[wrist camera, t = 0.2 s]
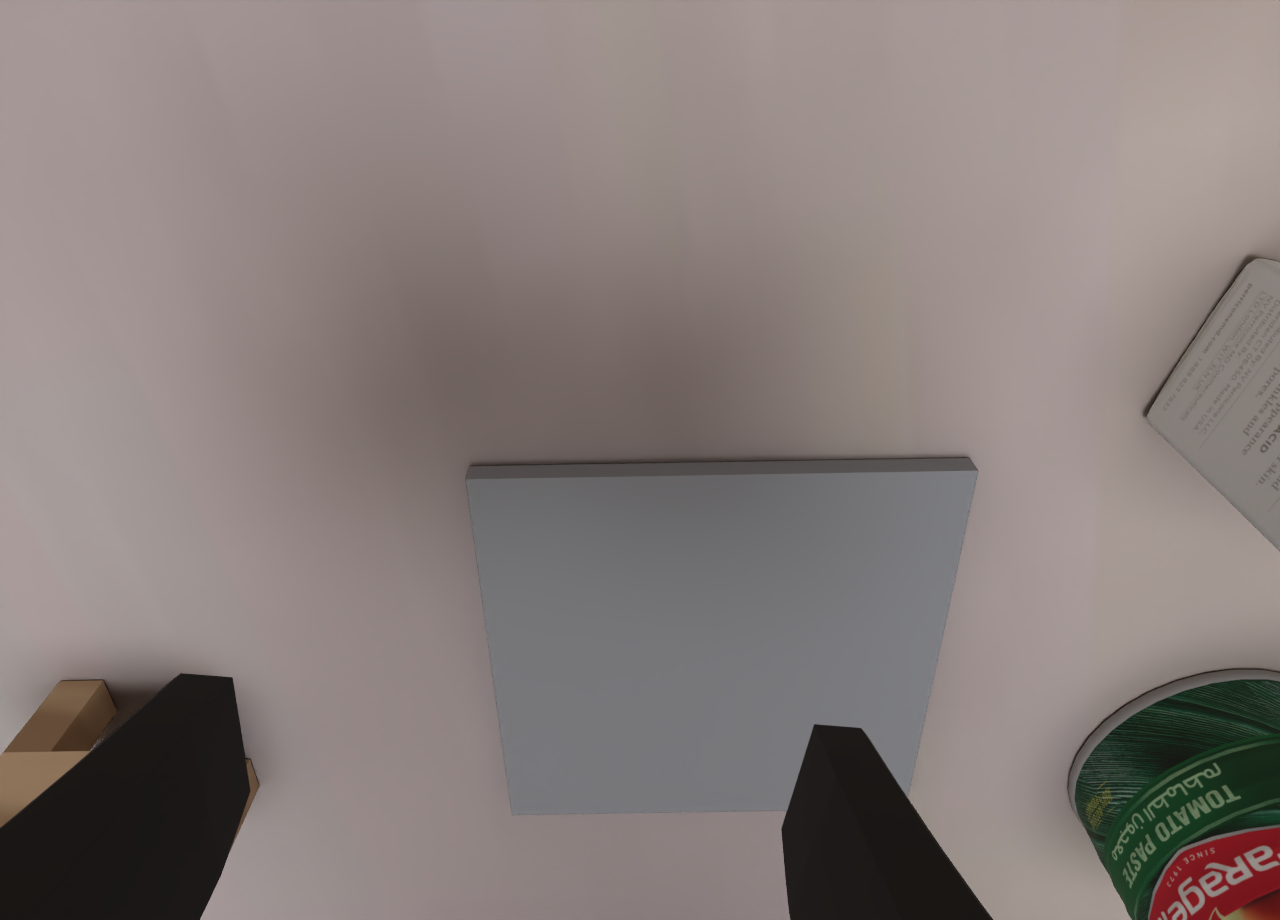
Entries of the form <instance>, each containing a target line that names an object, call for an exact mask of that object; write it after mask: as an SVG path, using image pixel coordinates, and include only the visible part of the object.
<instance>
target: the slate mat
mask: <svg viewBox="0 0 1280 920" xmlns="http://www.w3.org/2000/svg"><path fill="white" fill-rule="evenodd" d="M977 475H978V469H977V468H976V467H975V465H974V464H973V462H972V461H971V459H970V458H930V459H871V460H812V461H753V462H694V463H635V464H575V465H516V466H470V467H469V470H468V473H467V476H466V487H467V494H468V501H469V508H470V516H471V523H472V530H473V537H474V545H475V552H476V559H477V566H478V573H479V581H480V588H481V595H482V602H483V610H484V617H485V624H486V631H487V639H488V646H489V653H490V660H491V668H492V675H493V682H494V689H495V696H496V704H497V711H498V718H499V725H500V733H501V740H502V747H503V754H504V762H505V769H506V776H507V783H508V790H509V798H510V805H511V812H512V815H548V814H608V813H668V812H728V811H787V810H788V807H789V803H790V800H791V797H792V794H793V790H794V787H795V784H796V781H797V778H798V774H799V771H800V768H801V765H802V762H803V758H804V755H805V752H806V749H807V746H808V742H809V739H810V736H811V733H812V730H813V726H814V724H818V725H831V726H843V727H856V728H862V730H863V731H864V732H865V733H866V735H867V736H868V737H869V739H870V741H871V742H872V744H873V745H874V747H875V748H876V750H877V751H878V753H879V755H880V756H881V758H882V759H883V761H884V762H885V764H886V765H887V767H888V769H889V770H890V772H891V773H892V775H893V776H894V778H895V779H896V781H897V782H898V784H899V785H900V787H901V789H902V790H903V792H904V793H905V795H906V796H907V798H908V795H909V790H910V785H911V781H912V776H913V771H914V767H915V762H916V758H917V753H918V748H919V744H920V739H921V734H922V730H923V725H924V720H925V716H926V711H927V706H928V702H929V697H930V693H931V688H932V683H933V679H934V674H935V669H936V665H937V660H938V655H939V651H940V646H941V642H942V637H943V632H944V628H945V623H946V618H947V614H948V609H949V604H950V600H951V595H952V591H953V586H954V581H955V577H956V572H957V567H958V563H959V558H960V553H961V549H962V544H963V539H964V535H965V530H966V526H967V521H968V516H969V512H970V507H971V502H972V498H973V493H974V488H975V484H976V479H977Z"/></svg>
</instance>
